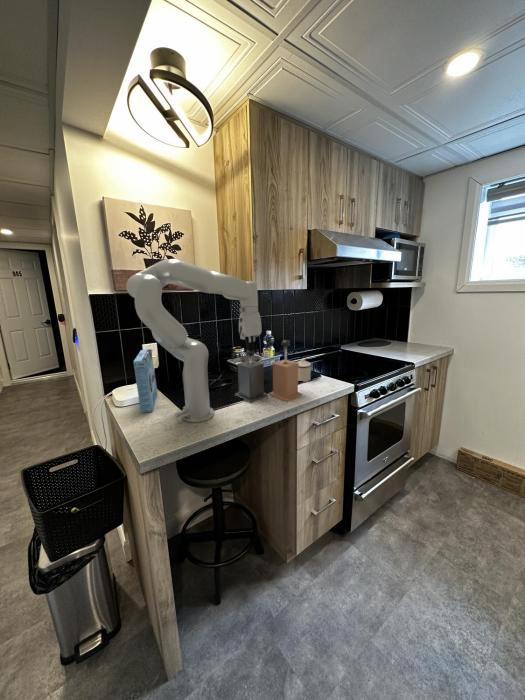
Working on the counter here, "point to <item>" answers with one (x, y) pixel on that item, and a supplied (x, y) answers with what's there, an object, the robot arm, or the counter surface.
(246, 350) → the plunger
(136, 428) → the counter surface
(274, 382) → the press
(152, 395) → the gum box
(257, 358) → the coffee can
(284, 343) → the plunger
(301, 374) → the teacup with lid
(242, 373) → the press
